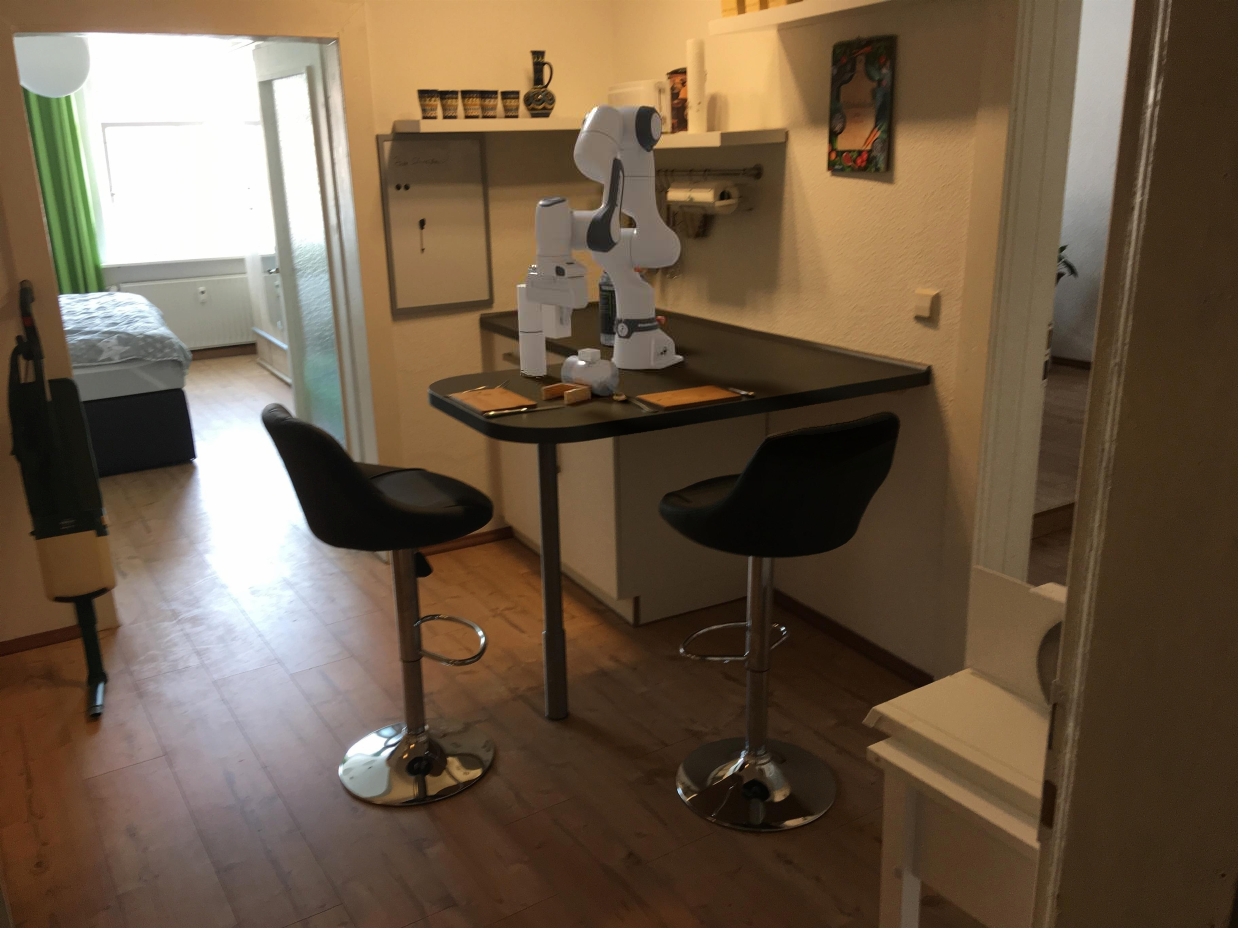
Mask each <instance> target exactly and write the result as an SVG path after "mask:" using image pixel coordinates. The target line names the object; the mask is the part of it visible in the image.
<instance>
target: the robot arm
mask: <svg viewBox="0 0 1238 928" xmlns="http://www.w3.org/2000/svg"><path fill="white" fill-rule="evenodd" d="M661 117H662V116H661V114H660V113H659V111H658V109H656V108H655V107H653V106H648V105H640V106H638V105H637V106H636V105H620V106H616V107H615V106H611V105H609V104H601V105H597V106H595V107H594V108H593V109H591V111H588V112H587V114H586V115H585V117H584V118H583V119H582V124H581V129H580V131H579V133H578V136H577V139H576V142H575V146H574V149H573V150H574V151H573V160H574V163H575V165H576V167H577V169H578V170H579V171H580V173H581V174H583V175H584V176H585V177H587V178H588V179H590V180H591V181H595V182H598V183H600V184H602V185H603V194H602V200H601V201H602V202H601V206H600V207H599V208H597V209H594V210H577V209H576V210H575V209H572V208H570V204H569V201H568V199H567V198H565V197H562V196H561V197H559V196H553V197H547V198H543V199H541V200H539V201H538V202H537V204H536V208H535V213H534V214H535V216H534V217H535V218H534V235H535V240H536V246H537V247H536V250H535V251H536V252H535V258H536V259H535V260H536V262H535V263H536V264H531V265H530V266H529V267H528V269H527V275H526V279H525V284H526V288H525V297H526V299H527V301H528V302H532V303H539V304H540V309H541V311H542V304H550V305H557V306H560V307H562V309H563V311H564V314H563V317H562V318H560V321H561V322H560V323H561V325H569V324H570V316H571V315H572V313H573V310H574V309H584V308H586V307H587V306H588V304H589V287H588V286H589V285H588V280H587V278H586V277H585V276H587V275H588V268H587V266H586V265H584V264H582V263H580V261H578V260H576V259H574V258H573V251H589V252H590V256H591V259H592V260H593V261H594V263H595V264H596V265H598V266H599V267H600V268H602V270H603V269H604V271H605V272H606V273H607V274H608V276H609V277H610V279H611V281H612V283H613V285H614V289H615V294H616V306H617V316H616V317H615V329H616V330H617V333H616V335H615V342H614V346H613V357H611V359H610V361H612V362H613V363H615V365H616V366H617V368H618V369H625V370H626V369H627V370H645V369H646V370H647V369H651V370H654V369H655V370H656V369H657V370H658V369H659V370H661V369H663V368H667V367H670V366H673V365H674V364H677V363H679V362H682V361H684V357H683V356H681V355H680V354H678V355H677V354H676V348H675V347H676V346H675V342H674V340H673V339H672V338H671V337H670V336H668V335H667V333H666V332H664V331H663V330H662V329H660V324H664V323H665V320H666V319H665V316H660V315H658V316H656V299H655V298H656V293H655V289H654V288H653V286H652V285H651V284H650V283H648V281H647V282H645V281H643V280H641V279H639V278H638V277H637V276H636V274H635V272H634V268H642V269H660V268H664V267H669V266H673V265H674V264H675V263H676V262H677V261H678V259H679V257H680V254H681V249H682V248H681V241H680V239H679V237H678V235H677V234H676V232H675V231H673V230H672V229H671V228H670V227H669V226H667V224H666V223H665V222H664V220H663V219H662V217H661V215H660V213H659V210H658V206H657V201H656V199H657V198H656V182H655V181H656V178H655V177H656V171H655V157H654V151H653V150H654V147H655V146H657V144H658V142H659V141H660V139H661V136H662V133H663V120H662V118H661ZM622 213H623V214H625V215H626V216H629V217H631V218H632V219H633V220H634V221H635V225H636V227H635V228H634V227H633V228H631V227H630V228H629V227H628V228H627V227H625V228H622V227H621V215H622ZM604 271H603V272H604ZM571 317H572V316H571Z"/></svg>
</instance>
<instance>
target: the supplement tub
mask: <svg viewBox="0 0 1238 928" xmlns="http://www.w3.org/2000/svg"><path fill="white" fill-rule="evenodd" d="M602 270H603V274H602V275H601V276H600V278H599V279H598V305H599V306H598V308H599V310H598V311H599V312H598V313H599V338H600V342H601V344H603V345H604V346H611V347H614V342H615V335H616V333H617V330H616V329H615V317H616V316H617V306H616V294H615V289H614V285H613V283H612V281H611V279H610V277H609V276H608V274H607V273H606V272H605V271H604V269H602ZM634 272H635V274H636V276H637V277H638V278H639V279H641V280H643V281H645V282H647V283H648V280H647V277H646V275H644V273H643V268H634Z"/></svg>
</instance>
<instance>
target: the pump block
mask: <svg viewBox="0 0 1238 928" xmlns="http://www.w3.org/2000/svg"><path fill="white" fill-rule="evenodd" d="M563 314H564V311H563V309H562V307H560V306H557V305H550V304H542V327H543V336H544V337H545V338H550V339H555V340H556V339H561V338H568V337H572V320H571V319H572V318H571V317H572V316H570V324H569V325H561V323H560V322H561V321H560V318H562V317H563Z"/></svg>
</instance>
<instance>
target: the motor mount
mask: <svg viewBox="0 0 1238 928" xmlns="http://www.w3.org/2000/svg"><path fill="white" fill-rule="evenodd" d="M577 354H578V355H570V356H569V357H567V358H566V359H565V361H564V362H563V364H562V366H561V370H560V378H561V382H560V383H559V382H558V383H555V384H552V385H551V384H550V385H548V386H547V385H546V386H543V387H541V400H545V401H546V400H549V399H553V398H557V397H561V396H563V397H564V399H563V400H564V402H563V404H564V405H570V404H575V403H578V402H581V401H585V400H589V399H592V395H596V396H602V397H608V396H611V394H613V393H614V391H616V389H617V387H618V384H619V379H620V373H619V368H618V367H617V366H616V365H615V363H613V362H612V361H611V360H608V359H602V358H601V350H600V349H597V348H596V349H595V348H587V347H586V348H583V349H578V350H577Z"/></svg>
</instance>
